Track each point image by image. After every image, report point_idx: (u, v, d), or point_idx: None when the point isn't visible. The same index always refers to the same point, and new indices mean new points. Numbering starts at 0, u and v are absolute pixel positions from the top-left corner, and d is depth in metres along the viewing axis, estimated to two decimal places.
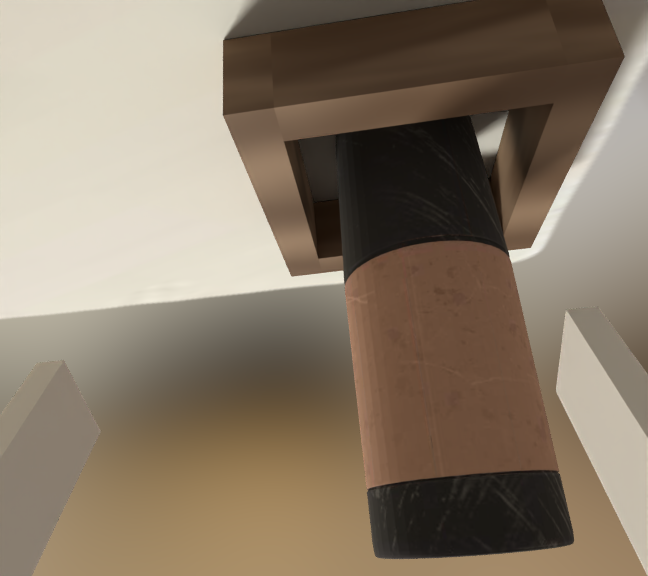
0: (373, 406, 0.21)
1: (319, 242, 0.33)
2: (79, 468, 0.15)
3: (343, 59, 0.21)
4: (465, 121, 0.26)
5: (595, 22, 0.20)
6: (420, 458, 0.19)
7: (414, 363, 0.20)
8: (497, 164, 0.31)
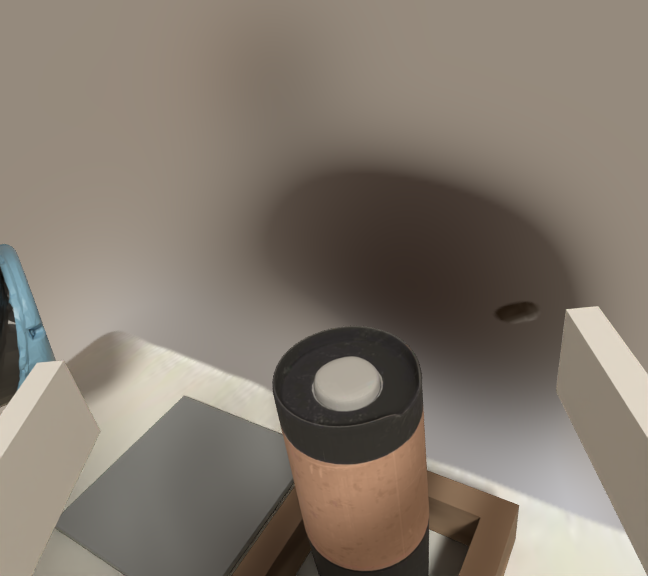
0: (292, 471, 0.29)
1: None
2: (79, 468, 0.15)
3: None
4: None
5: None
6: None
7: None
8: (450, 534, 0.39)
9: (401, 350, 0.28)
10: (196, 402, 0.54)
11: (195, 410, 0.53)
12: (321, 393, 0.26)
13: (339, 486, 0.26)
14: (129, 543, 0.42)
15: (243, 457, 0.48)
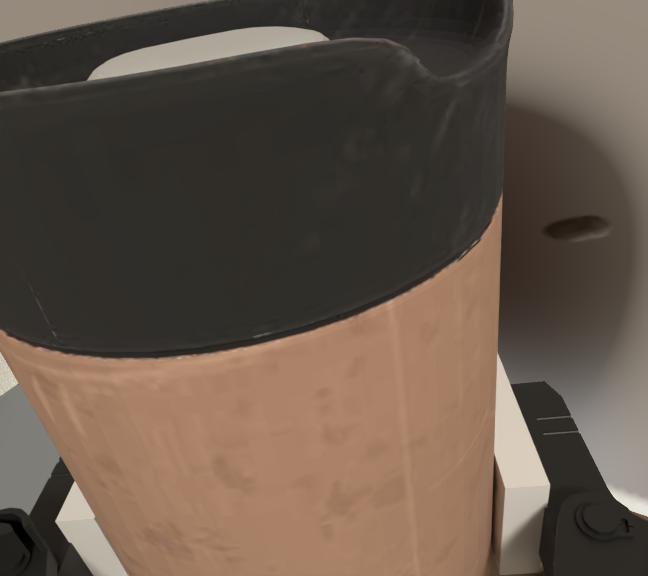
0: None
1: None
2: None
3: None
4: None
5: None
6: None
7: None
8: None
9: (416, 14, 0.08)
10: None
11: None
12: None
13: (159, 471, 0.06)
14: None
15: None
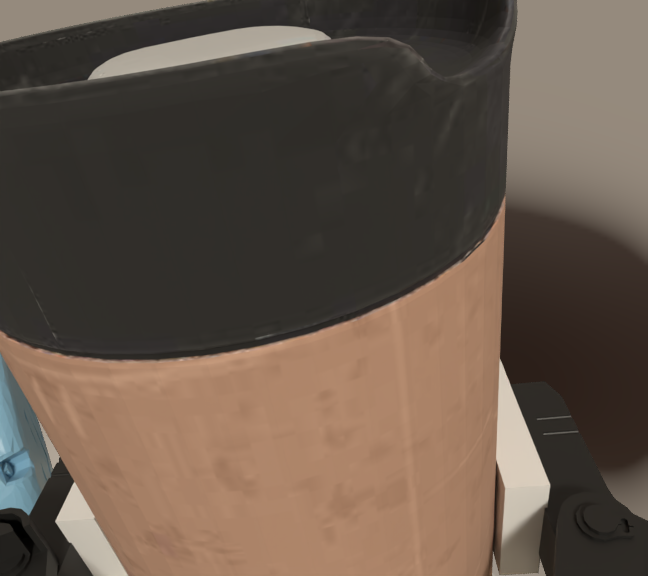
0: None
1: None
2: None
3: None
4: None
5: None
6: None
7: None
8: None
9: (418, 13, 0.08)
10: None
11: None
12: None
13: (159, 473, 0.06)
14: None
15: None
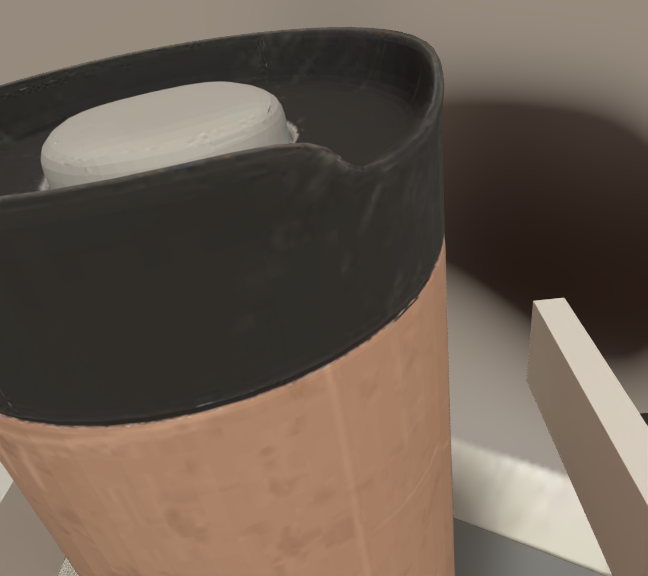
0: None
1: None
2: None
3: None
4: None
5: None
6: None
7: None
8: None
9: (366, 66, 0.09)
10: None
11: None
12: (46, 155, 0.07)
13: (116, 523, 0.06)
14: None
15: None
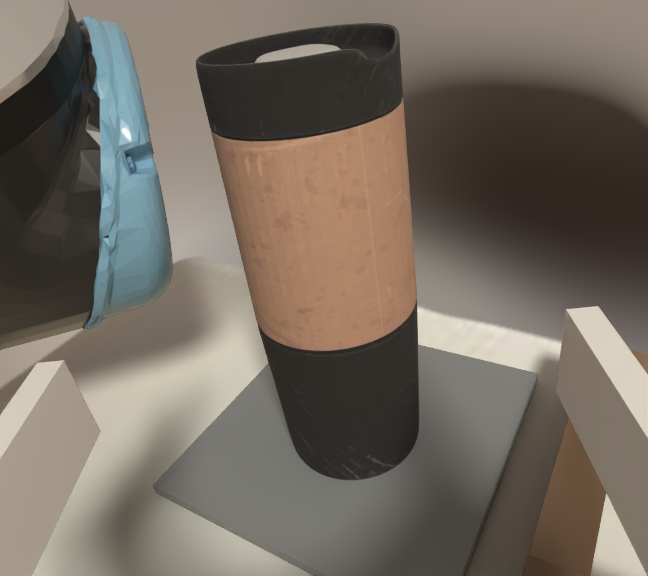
0: (230, 205, 0.21)
1: None
2: (79, 468, 0.15)
3: None
4: None
5: None
6: None
7: None
8: None
9: (374, 38, 0.21)
10: None
11: None
12: None
13: (286, 185, 0.19)
14: (287, 512, 0.26)
15: (431, 389, 0.32)
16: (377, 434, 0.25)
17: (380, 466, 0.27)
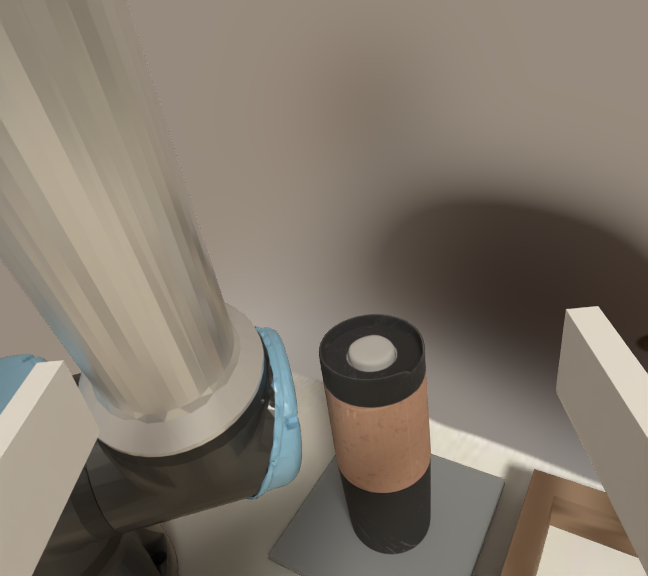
0: (332, 418, 0.40)
1: None
2: (79, 468, 0.15)
3: None
4: None
5: None
6: None
7: None
8: None
9: (409, 330, 0.39)
10: None
11: None
12: (354, 359, 0.37)
13: (368, 424, 0.37)
14: (354, 575, 0.45)
15: (437, 489, 0.50)
16: (407, 530, 0.44)
17: (408, 546, 0.45)
